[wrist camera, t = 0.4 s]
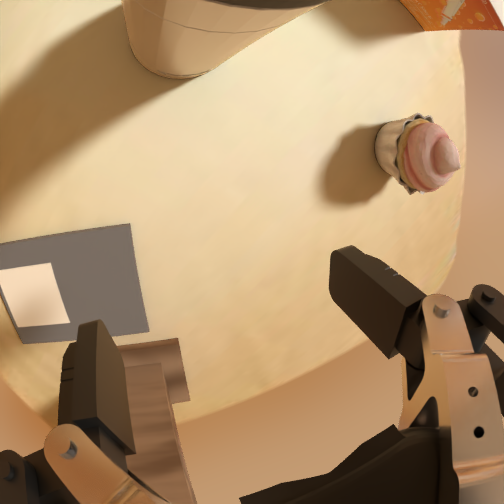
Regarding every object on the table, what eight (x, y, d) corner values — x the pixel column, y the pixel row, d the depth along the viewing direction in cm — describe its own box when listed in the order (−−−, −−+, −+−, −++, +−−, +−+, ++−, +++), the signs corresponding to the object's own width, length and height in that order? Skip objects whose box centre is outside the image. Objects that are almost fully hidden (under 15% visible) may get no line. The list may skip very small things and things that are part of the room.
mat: (-13, 245, 20) (-16, 248, 19) (130, 223, 25) (129, 226, 24) (24, 340, 25) (22, 344, 25) (148, 328, 30) (149, 332, 30)
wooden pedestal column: (86, 349, 29) (120, 642, 1) (177, 338, 32) (287, 628, 5) (113, 404, 33) (159, 625, 6) (189, 395, 37) (272, 611, 10)
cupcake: (387, 199, 34) (448, 229, 25) (350, 144, 29) (421, 162, 20) (424, 150, 33) (485, 169, 24) (395, 94, 28) (464, 100, 19)
